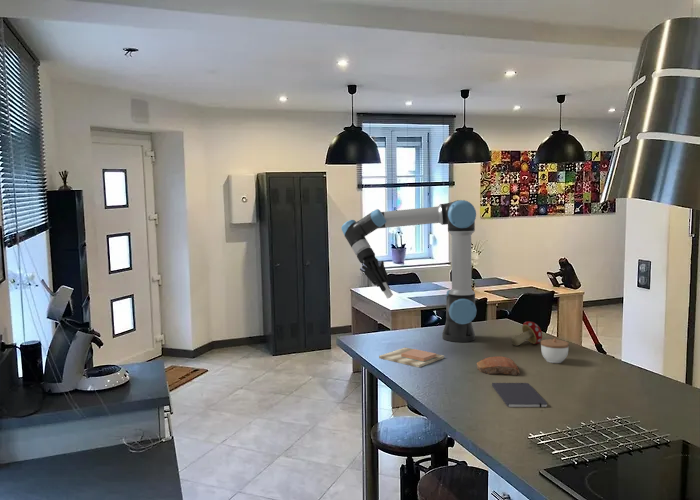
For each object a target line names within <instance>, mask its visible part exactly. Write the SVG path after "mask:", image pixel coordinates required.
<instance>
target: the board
mask: <svg viewBox="0 0 700 500" xmlns="http://www.w3.org/2000/svg"><path fill="white" fill-rule="evenodd" d="M413 349H414V348H409V347H403V348H398V349H396V350H394V351H390V352H385V353H383V354H381V355H378V359H380V360H385V361H389V362H393V363H398V364H401V365H402V364H403V365H405V366H406V365H408V366H411V367H415V368H421V367H423V366H427V365H429V364H432V363H434V362H437V361H440V360H443V359H444V358H445V355H443V354H438V353H436V358H433V359H431V360H428V361H425V362H421V361H416V360H412V359H407V358H403V357H401V353H404V352H407V351H410V350H413Z"/></svg>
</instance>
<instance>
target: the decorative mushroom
mask: <svg viewBox="0 0 700 500" xmlns="http://www.w3.org/2000/svg"><path fill="white" fill-rule="evenodd" d="M510 340H511V344H512V345H514V346H515V347H517V346H518V347H519V346H520V345H521V344H523V343H524V342H526V341H528V342H529V343H530V344H533V345H537V344H541V341H542V340H543V332H542V329H541V327H540V326H539V325H538V324H537V323H535V322H534V321H525V322H524V321H523V324H522V333H520V334H517V335H514V336H512V337H511V339H510Z"/></svg>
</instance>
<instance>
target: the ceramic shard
mask: <svg viewBox="0 0 700 500" xmlns="http://www.w3.org/2000/svg"><path fill="white" fill-rule="evenodd" d="M476 368H477V370H478V371H479V372H481V373H485V374H487V375H497V374H498V375H499V374H504V375H510V376H511V375H512V376H519V375H520V369H519V368H518V366H517V363H516V362H515V361H514V360H512V359H511V358H509V357H506V356H501V355H500V356H489V357H486V358H483V359H480V360H479V361H478V362H476Z"/></svg>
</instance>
